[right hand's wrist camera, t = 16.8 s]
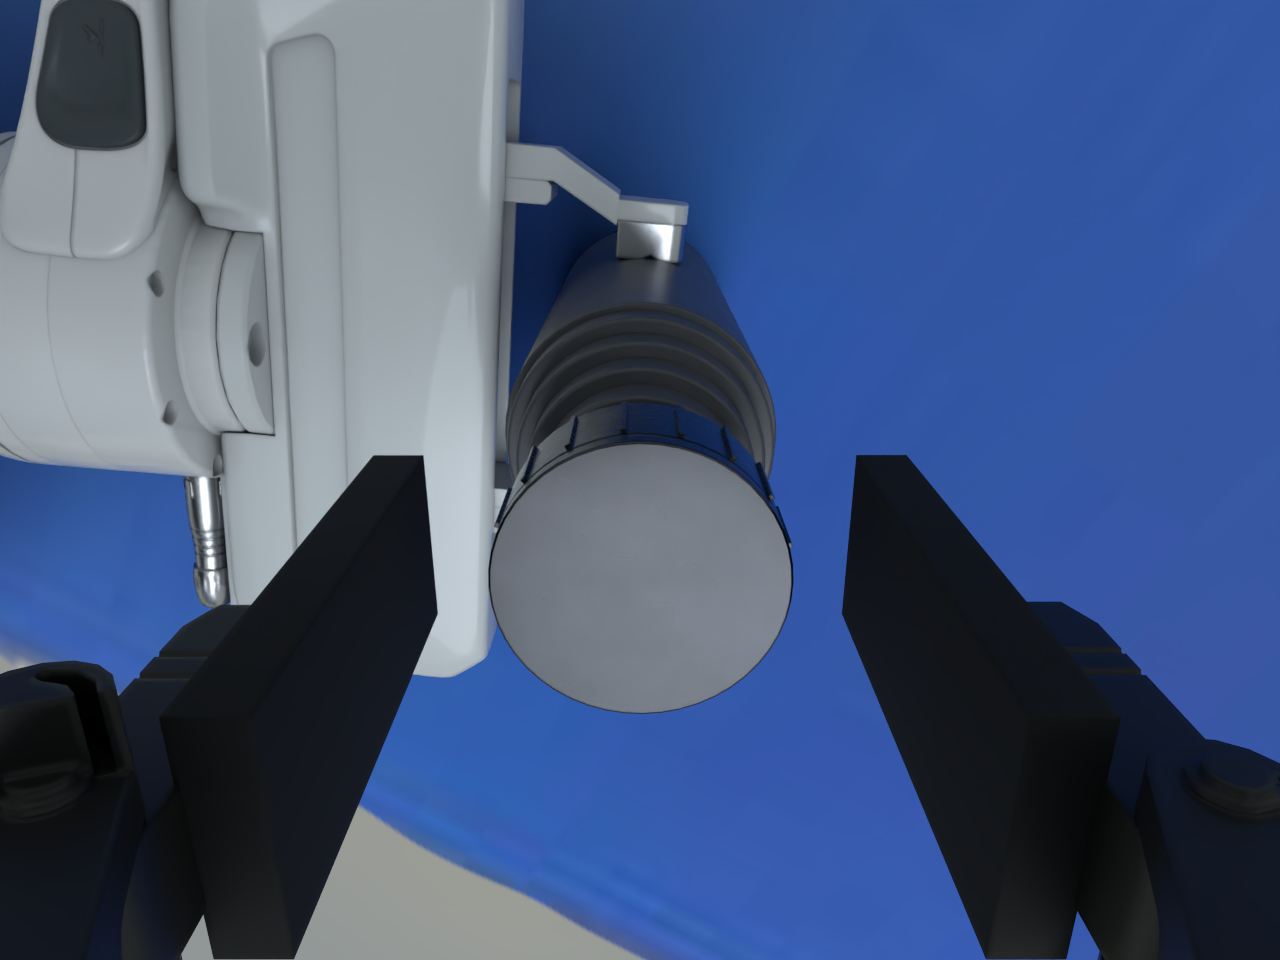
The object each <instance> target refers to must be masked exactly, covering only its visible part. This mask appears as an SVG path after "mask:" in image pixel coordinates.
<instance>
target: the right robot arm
mask: <svg viewBox="0 0 1280 960" xmlns="http://www.w3.org/2000/svg"><path fill="white" fill-rule="evenodd" d="M437 615H438V609H437V598H436V587H435V576H434V565H433V554H432V543H431V532H430V521H429V510H428V499H427V488H426V477H425V466H424V455H373V456H372V458H371V459H370V460H369V461H368V463H367V464H366V465H365V466H364V467H363V469H362V470H361V471H360V472H359V474H358V475H357V476H356V477H355V478H354V480H353V481H352V482H351V483H350V484H349V486H348V487H347V488H346V489H345V491H344V492H343V493H342V494H341V495H340V497H339V498H338V499H337V500H336V502H335V503H334V504H333V505H332V506H331V508H330V509H329V510H328V511H327V513H326V514H325V515H324V516H323V517H322V519H321V520H320V521H319V522H318V524H317V525H316V526H315V527H314V528H313V530H312V531H311V532H310V533H309V535H308V536H307V537H306V538H305V539H304V541H303V542H302V543H301V544H300V546H299V547H298V548H297V549H296V550H295V552H294V553H293V554H292V555H291V557H290V558H289V559H288V560H287V561H286V563H285V564H284V565H283V566H282V568H281V569H280V570H279V571H278V572H277V574H276V575H275V576H274V577H273V579H272V580H271V581H270V582H269V583H268V585H267V586H266V587H265V588H264V590H263V591H262V592H261V593H260V594H259V596H258V597H257V598H256V599H255V601H254V602H253V603H252V604H251V605H218V606H217V607H215V608H213V609H212V610H210V611H208V612H207V613H205V614H203V615H201V616H200V617H198V618H196V619H195V620H193V621H191V622H190V623H188V624H186V625H184V626H183V627H182V628H181V629H180V630H179V631H178V632H177V633H176V634H175V635H174V637H173V638H172V639H171V640H170V641H169V642H168V643H167V644H166V645H165V646H164V647H163V648H162V650H161V651H160V652H159V657H154V658H153V659H152V660H151V662H150V663H149V664H148V665H147V666H146V667H145V668H144V669H143V670H142V671H141V672H140V678H139V679H134V680H133V681H132V682H131V683H130V684H129V685H128V687H127V688H126V689H125V690H124V691H123V692H122V693H121V694H120V695H119V696H118V695H117V691H116V686H115V682H114V678H113V675H112V674H111V673H109V672H108V671H107V670H105V669H104V668H103V667H101V666H100V665H97V664H91V663H85V662H79V661H63V662H49V663H41V664H36V665H32V666H28V667H24V668H19V669H15V670H11V671H7V672H5V673H2V674H0V960H182V956H181V953H182V952H183V950H184V948H185V946H186V944H187V943H188V941H189V939H190V937H191V935H192V934H193V932H194V930H195V928H196V926H197V925H198V923H199V921H200V919H201V917H202V916H203V914H204V918H205V922H206V927H207V932H208V936H209V940H210V945H211V949H212V954H213V958H214V959H294V958H295V955H296V953H297V950H298V948H299V946H300V943H301V941H302V939H303V936H304V934H305V931H306V929H307V926H308V924H309V922H310V919H311V917H312V915H313V912H314V910H315V907H316V905H317V903H318V900H319V898H320V895H321V893H322V891H323V888H324V886H325V883H326V881H327V879H328V876H329V874H330V871H331V869H332V867H333V864H334V862H335V859H336V857H337V855H338V852H339V850H340V847H341V845H342V842H343V840H344V838H345V835H346V833H347V831H348V828H349V826H350V823H351V821H352V819H353V816H354V814H355V811H356V809H357V807H358V804H359V802H360V800H361V797H362V795H363V792H364V790H365V788H366V785H367V783H368V780H369V778H370V776H371V773H372V771H373V768H374V766H375V764H376V761H377V759H378V756H379V754H380V752H381V749H382V747H383V744H384V742H385V740H386V737H387V735H388V732H389V730H390V728H391V725H392V723H393V720H394V718H395V716H396V713H397V711H398V708H399V706H400V704H401V701H402V699H403V696H404V694H405V692H406V689H407V687H408V684H409V682H410V680H411V677H412V675H413V672H414V670H415V668H416V665H417V663H418V660H419V658H420V656H421V653H422V651H423V649H424V646H425V644H426V641H427V639H428V637H429V634H430V632H431V629H432V627H433V625H434V622H435V620H436V617H437ZM842 615H843V617H844V620H845V622H846V625H847V627H848V629H849V632H850V634H851V637H852V639H853V641H854V644H855V646H856V649H857V651H858V653H859V656H860V658H861V661H862V663H863V665H864V668H865V670H866V672H867V675H868V677H869V680H870V682H871V684H872V687H873V689H874V692H875V694H876V696H877V699H878V701H879V704H880V706H881V708H882V711H883V713H884V716H885V718H886V720H887V723H888V725H889V728H890V730H891V732H892V735H893V737H894V740H895V742H896V744H897V747H898V749H899V752H900V754H901V756H902V759H903V761H904V764H905V766H906V768H907V771H908V773H909V776H910V778H911V780H912V783H913V785H914V788H915V790H916V792H917V795H918V797H919V800H920V802H921V804H922V807H923V809H924V811H925V814H926V816H927V819H928V821H929V823H930V826H931V828H932V831H933V833H934V835H935V838H936V840H937V843H938V845H939V847H940V850H941V852H942V855H943V857H944V859H945V862H946V864H947V867H948V869H949V871H950V874H951V876H952V879H953V881H954V883H955V886H956V888H957V891H958V893H959V895H960V898H961V900H962V903H963V905H964V907H965V910H966V912H967V915H968V917H969V919H970V922H971V924H972V927H973V929H974V931H975V934H976V936H977V939H978V941H979V943H980V946H981V948H982V951H983V953H984V955H985V958H986V959H1066V958H1067V954H1068V949H1069V945H1070V940H1071V936H1072V932H1073V927H1074V923H1075V918H1076V914H1077V911H1078V913H1079V915H1080V916H1081V918H1082V920H1083V922H1084V923H1085V925H1086V927H1087V929H1088V931H1089V932H1090V934H1091V936H1092V938H1093V940H1094V941H1095V943H1096V945H1097V947H1098V948H1099V950H1100V952H1099V956H1098V960H1280V763H1278V762H1276V761H1274V760H1271V759H1269V758H1267V757H1265V756H1263V755H1261V754H1258V753H1256V752H1254V751H1252V750H1250V749H1246V748H1243V747H1239V746H1235V745H1232V744H1228V743H1224V742H1221V741H1217V740H1208V739H1205V738H1204V737H1203V736H1202V735H1201V734H1200V733H1199V732H1198V731H1197V730H1196V729H1195V728H1194V726H1193V725H1192V724H1191V723H1190V722H1189V721H1188V720H1187V719H1186V718H1185V717H1184V716H1183V715H1182V714H1181V712H1180V711H1179V710H1178V709H1177V708H1176V707H1175V706H1174V705H1173V704H1172V703H1171V702H1170V701H1169V700H1168V698H1167V697H1166V696H1165V695H1164V694H1163V693H1162V692H1161V691H1160V690H1159V689H1158V688H1157V687H1156V685H1155V684H1154V683H1153V682H1152V681H1151V680H1150V679H1149V678H1148V677H1147V676H1146V675H1141V669H1140V668H1139V667H1138V666H1137V665H1136V664H1135V663H1134V662H1133V661H1132V660H1131V659H1130V657H1129V656H1128V655H1127V654H1122V652H1121V648H1120V647H1119V646H1118V645H1117V643H1116V642H1115V641H1114V640H1113V639H1112V638H1111V637H1110V636H1109V635H1108V634H1107V633H1106V632H1105V630H1104V629H1103V628H1102V627H1101V626H1100V625H1099V624H1098V623H1096V622H1095V621H1093V620H1091V619H1090V618H1088V617H1086V616H1084V615H1083V614H1081V613H1079V612H1078V611H1076V610H1074V609H1072V608H1071V607H1069V606H1067V605H1066V604H1064V603H1062V602H1026V601H1025V599H1024V598H1023V597H1022V596H1021V594H1020V593H1019V592H1018V591H1017V590H1016V588H1015V587H1014V586H1013V585H1012V583H1011V582H1010V581H1009V580H1008V579H1007V577H1006V576H1005V575H1004V574H1003V572H1002V571H1001V570H1000V569H999V568H998V566H997V565H996V564H995V563H994V561H993V560H992V559H991V558H990V557H989V555H988V554H987V553H986V552H985V550H984V549H983V548H982V547H981V546H980V544H979V543H978V542H977V541H976V539H975V538H974V537H973V536H972V535H971V533H970V532H969V531H968V530H967V528H966V527H965V526H964V525H963V524H962V522H961V521H960V520H959V519H958V517H957V516H956V515H955V514H954V513H953V511H952V510H951V509H950V508H949V506H948V505H947V504H946V503H945V502H944V500H943V499H942V498H941V497H940V495H939V494H938V493H937V492H936V491H935V489H934V488H933V487H932V486H931V484H930V483H929V482H928V481H927V480H926V478H925V477H924V476H923V475H922V474H921V472H920V471H919V470H918V469H917V467H916V466H915V465H914V464H913V463H912V461H911V460H910V459H909V458H908V456H907V455H856V466H855V477H854V488H853V499H852V510H851V521H850V532H849V543H848V554H847V565H846V576H845V587H844V598H843V609H842Z"/></svg>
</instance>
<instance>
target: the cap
mask: <svg viewBox="0 0 1280 960" xmlns="http://www.w3.org/2000/svg"><path fill="white" fill-rule="evenodd" d="M773 499H775V498H774V495H773V493H772V490H771V487H770V484H769V482H768V479H767V476H766V473H765V471H764V468H763V465H762V464H761V462H758V463H756V462H755V460H754V459H753V457H752V456H751V454H750V453H749V452H748V451H747V450H746V449H745V448H744V446H743V445H742V444H741V443H740V442H739V441H738V440H737V439H736V438H734V437H733V436H732V435H731V434H730V432H729V428H727V427H726V426H723V428H722V427H720V426H718V425H717V424H715V423H714V422H712V421H710V420H709V419H706V418H704V417H702V416H700V415H698V414H695V413H693V412H690V411H687V410H684V409H682V408H681V405H678V404H676V405H675V407H673V406H668V405H662V404H654V403H629V404H628V401H627V400H626V401H622V404H618V405H614V406H609V407H604V408H600V409H597V410H594V411H591V412H589V413H586V414H583V415H581V416H579V417H577V416H576V415H574V416H572V417H571V419H570V421H569V422H567V423H566V424H564V425H563V426H561V427H560V428H559V429H557V430H556V431H554V432H553V433H552V434H550V435H549V436H548V437H547V438H546V439H545V440H544V441H543V442H542V443H540V444H539V446H538V447H536V446H535V445H534V446H533V447H532V448H531V450H530V453H529V456H528V459H527V461H526V462H525V464H524V465H523V467H522V468H521V470H520V472H519V474H518V476H517V478H516V480H515V483H514V485H513V487H512V488H510V487H508V489H507V492H506V495H505V498H504V500H503V503H502V506H501V508H500V511H499V514H498V516H497V519H496V522H495V525H494V527H496V528H498V529H497V532H496V535H495V538H494V542H493V545H492V549H491V553H490V560H489V567H488V588H489V594H490V600H491V606H492V609H493V612H494V616H495V619H496V622H497V624H498V626H499V628H500V630H501V632H502V635H503V637H504V639H505V640H506V642H507V643H508V645H509V646H510V648H511V649H512V651H513V652H514V654H515V655H516V656H517V657H518V659H519V660H520V661H521V662H522V663H523V664H524V666H525V667H526V668H527V669H528V670H530V671H531V672H532V673H533V674H534V675H535V676H536V677H537V678H538V679H540V680H541V681H542V682H544V683H545V684H547V685H548V686H550V687H551V688H552V689H554V690H556V691H557V692H559V693H561V694H563V695H565V696H567V697H569V698H571V699H573V700H576V701H578V702H581V703H583V704H586V705H588V706H592V707H596V708H600V709H603V710H608V711H614V712H621V713H636V714H647V713H662V712H667V711H673V710H678V709H682V708H686V707H689V706H692V705H696V704H699V703H701V702H703V701H706V700H708V699H710V698H713V697H715V696H717V695H719V694H720V693H722V692H724V691H726V690H727V689H729V688H731V687H732V686H733V685H735V684H736V683H737V682H739V681H740V680H741V679H743V678H744V677H746V676H747V675H748V674H749V673H750V672H751V671H752V670H753V669H754V668H755V667H756V666H757V665H758V664H759V663H760V662H761V660H762V659H763V658H764V657H765V655H766V654H767V653H768V652H769V650H770V649H771V647H772V646H773V644H774V642H775V641H776V639H777V637H778V636H779V634H780V632H781V629H782V627H783V625H784V622H785V620H786V618H787V614H788V610H789V607H790V603H791V598H792V590H793V563H792V557H791V551H790V548H792V543H791V540H790V537H789V535H788V532H787V529H786V526H785V524H784V521H783V518H782V515H781V513H780V510H779V507H778V506H775V503H774V500H773Z"/></svg>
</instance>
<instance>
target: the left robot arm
mask: <svg viewBox="0 0 1280 960" xmlns="http://www.w3.org/2000/svg"><path fill="white" fill-rule="evenodd" d="M524 3H525V0H41V5H40V11H39V18H38V24H37V30H36V36H35V42H34V48H33V54H32V59H31V65H30V70H29V75H28V81H27V86H26V91H25V95H24V100H23V105H22V110H21V114H20V119H19V123H18V127H17V131H13V132H4V133H0V455H1V456H4V457H8V458H11V459H15V460H19V461H24V462H29V463H39V464H49V465H61V466H72V467H84V468H96V469H108V470H120V471H135V472H146V473H158V474H169V475H181V476H183V477H184V478H183V479H184V488H185V496H186V506H187V515H188V521H189V526H190V530H191V534H192V538H193V543H194V549H195V561H196V562H195V563H194V566H193V578H194V585H195V590H196V593H197V596H198V599H199V601H200V603H201V604H202V605H204V606H207V607H211V608H212V609H213V608H215V607H217V606H218V605H226V604H228V603H229V602H230V604H231V605H251V604H252V603H253V602H254V601H255V599H256V598H257V597H258V596H259V594H260V593H261V592H262V591H263V590H264V588H265V587H266V586H267V585H268V583H269V582H270V581H271V580H272V579H273V577H274V576H275V575H276V574H277V572H278V571H279V570H280V569H281V568H282V566H283V565H284V564H285V563H286V561H287V560H288V559H289V558H290V557H291V555H292V554H293V553H294V552H295V550H296V549H297V548H298V547H299V546H300V544H301V543H302V542H303V541H304V539H305V538H306V537H307V536H308V535H309V533H310V532H311V531H312V530H313V528H314V527H315V526H316V525H317V524H318V522H319V521H320V520H321V519H322V517H323V516H324V515H325V514H326V513H327V511H328V510H329V509H330V508H331V506H332V505H333V504H334V503H335V502H336V500H337V499H338V498H339V497H340V495H341V494H342V493H343V492H344V491H345V489H346V488H347V487H348V486H349V484H350V483H351V482H352V481H353V480H354V478H355V477H356V476H357V475H358V474H359V472H360V471H361V470H362V469H363V467H364V466H365V465H366V464H367V463H368V461H369V460H370V459H371V458H372V456H373V455H424V466H425V477H426V488H427V499H428V510H429V521H430V532H431V543H432V554H433V565H434V576H435V587H436V598H437V609H438V615H437V617H436V620H435V622H434V625H433V627H432V629H431V632H430V634H429V637H428V639H427V641H426V644H425V646H424V649H423V651H422V653H421V656H420V658H419V660H418V663H417V665H416V668H415V670H414V672H413V674H414V675H422V676H430V677H452V676H456V675H458V674H460V673H462V672H463V671H465V670H467V669H469V668H471V667H472V666H474V665H476V664H478V663H479V662H480V661H482V660H483V659H485V657H486V656H487V654H488V652H489V649H490V646H491V643H492V640H493V637H494V634H495V631H496V627H497V622H496V619H495V616H494V612H493V609H492V606H491V600H490V594H489V588H488V567H489V560H490V553H491V549H492V545H493V542H494V538H495V535H496V532H497V529H498V528H496V527H494V525H495V522H496V519H497V516H498V514H499V511H500V508H501V506H502V503H503V500H504V498H505V495H506V492H507V489H508V487H510V488H512V487H513V485H514V482H513V480H512V476H511V472H510V468H509V464H508V463H507V448H506V438H505V423H506V413H507V407H508V402H509V389H510V363H511V338H512V312H513V286H514V261H515V235H516V210H517V203H528V204H541V205H547V204H548V203H549V202H550V201H552V200H553V199H554V198H555V197H556V196H558V185H559V186H561V187H562V188H564V189H565V190H567V191H568V192H569V193H571V194H572V195H574V196H575V197H577V198H578V199H579V200H581V201H582V202H584V203H585V204H586V205H588V206H589V207H591V208H592V209H594V210H595V211H596V212H598V213H599V214H601V215H602V216H604V217H605V218H606V219H608V220H609V221H611V222H612V223H614V224H615V225H617V222H618V232H617V248H616V258H625V259H644V258H645V257H647V256H649V255H651V256H652V257H654V258H655V259H656V260H658V261H663V262H669V263H679V262H682V260H683V252H684V244H685V236H686V228H687V217H688V209H689V205H688V203H687V202H682V201H677V200H670V199H659V198H648V197H638V196H627V195H621V190H620V189H619V188H618V187H616V186H615V185H613V184H612V183H611V182H609V181H608V180H607V179H605V178H604V177H602V176H601V175H600V174H598V173H597V172H596V171H594V170H593V169H592V168H590V167H589V166H587V165H586V164H585V163H583V162H582V161H581V160H579V159H578V158H576V157H575V156H574V155H572V154H571V153H570V152H568V151H567V150H566V149H564V148H563V147H561V146H553V145H542V144H532V143H521V142H519V133H520V107H521V81H522V56H523V30H524Z"/></svg>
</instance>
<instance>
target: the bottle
mask: <svg viewBox="0 0 1280 960" xmlns="http://www.w3.org/2000/svg"><path fill="white" fill-rule="evenodd" d="M616 248H617V233H613V234H611V235H608V236H606V237H604V238H602V239H600V240H599V241H597V242H596V243H594V244H593V245H591V246H590V247H589V248H588V249H587V250H586V251H585V252H584V253H583V254H582V255H581V256H580V257H579V258H578V259H577V261H576V262H575V264H574V265H573V267H572V268H571V270H570V272H569V274H568V276H567V278H566V280H565V282H564V284H563V286H562V288H561V290H560V292H559V294H558V296H557V298H556V300H555V302H554V304H553V306H552V308H551V310H550V312H549V314H548V316H547V318H546V321H545V323H544V325H543V327H542V329H541V331H540V333H539V335H538V337H537V339H536V341H535V343H534V345H533V347H532V349H531V351H530V353H529V355H528V357H527V359H526V361H525V363H524V365H523V367H522V369H521V371H520V373H519V375H518V377H517V379H516V381H515V383H514V386H513V389H512V392H511V395H510V398H509V402H508V407H507V413H506V423H505V438H506V448H507V455H508V464H509V468H510V472H511V476H512V480H513V482H514V483H515V480H516V478H517V476H518V474H519V472H520V470H521V468H522V467H523V465H524V464H525V462H526V461H527V459H528V456H529V453H530V450H531V448H532V447H533V446H534V445H535V446H536V447H538V446H539V444H540V443H542V442H543V441H544V440H545V439H546V438H547V437H548V436H549V435H550V434H552V433H553V432H554V431H556V430H557V429H559V428H560V427H561V426H563V425H564V424H566V423H567V422H569V421H570V419H571V417H572V416H574V415H576V416H577V417H579V416H581V415H583V414H586V413H589V412H591V411H594V410H597V409H600V408H604V407H609V406H614V405H618V404H622V401H626V400H627V401H628V404H629V403H654V404H662V405H668V406H673V407H675V405H676V404H678V405H681V408H682V409H684V410H687V411H690V412H693V413H695V414H698V415H700V416H702V417H704V418H706V419H709V420H710V421H712V422H714V423H715V424H717V425H718V426H720V427H722V428H723V426H726V427H727V428H729V432H730V434H731V435H732V436H733V437H734V438H736V439H737V440H738V441H739V442H740V443H741V444H742V445H743V446H744V448H745V449H746V450H747V451H748V452H749V453H750V454H751V456H752V457H753V459H754V460H755V462H756V463H758V462H761V464H762V465H763V468H764V471H765V473H766V476H767V479H768V480H769V476H770V473H771V470H772V463H773V457H774V448H775V442H776V420H775V412H774V406H773V402H772V398H771V395H770V391H769V388H768V386H767V384H766V381H765V379H764V377H763V374H762V372H761V370H760V368H759V366H758V364H757V362H756V360H755V358H754V356H753V354H752V352H751V350H750V348H749V346H748V344H747V342H746V340H745V338H744V336H743V334H742V332H741V330H740V328H739V326H738V324H737V322H736V320H735V318H734V316H733V314H732V312H731V310H730V308H729V306H728V304H727V302H726V300H725V298H724V296H723V294H722V292H721V290H720V288H719V286H718V284H717V282H716V280H715V278H714V276H713V274H712V272H711V270H710V269H709V267H708V265H707V264H706V262H705V261H704V260H703V259H702V257H701V256H700V255H699V254H698V253H697V252H696V251H695V250H694V249H693V248H692V247H691V246H689V245H688V244H686V243H685V244H684V252H683V260H682V262H679V263H669V262H663V261H658V260H656V259H655V258H654V257H652V256H651V255H649V256H647V257H645V258H644V259H625V258H616Z"/></svg>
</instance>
